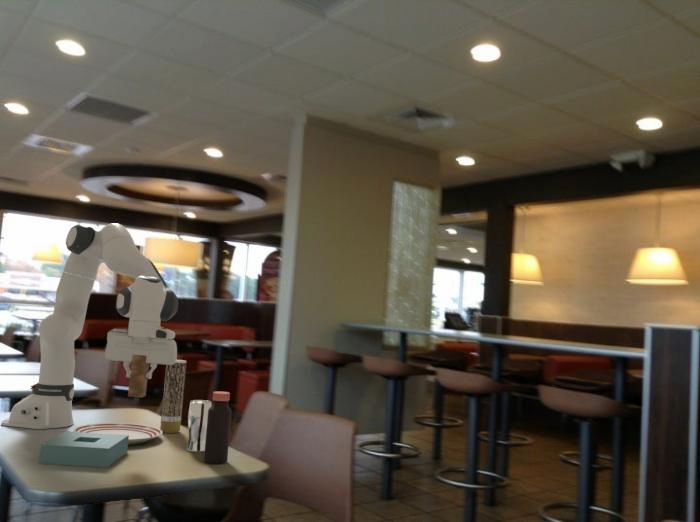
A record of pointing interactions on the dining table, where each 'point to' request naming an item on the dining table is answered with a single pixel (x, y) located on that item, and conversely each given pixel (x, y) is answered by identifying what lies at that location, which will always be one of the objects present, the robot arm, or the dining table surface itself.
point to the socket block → (83, 449)
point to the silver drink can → (197, 425)
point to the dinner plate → (122, 431)
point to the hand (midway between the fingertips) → (138, 378)
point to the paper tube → (173, 397)
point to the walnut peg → (138, 376)
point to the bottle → (218, 429)
